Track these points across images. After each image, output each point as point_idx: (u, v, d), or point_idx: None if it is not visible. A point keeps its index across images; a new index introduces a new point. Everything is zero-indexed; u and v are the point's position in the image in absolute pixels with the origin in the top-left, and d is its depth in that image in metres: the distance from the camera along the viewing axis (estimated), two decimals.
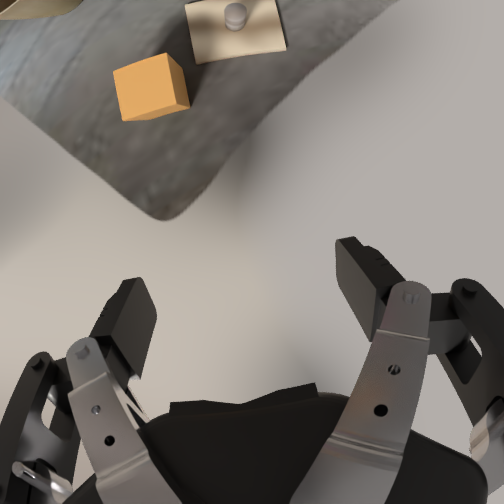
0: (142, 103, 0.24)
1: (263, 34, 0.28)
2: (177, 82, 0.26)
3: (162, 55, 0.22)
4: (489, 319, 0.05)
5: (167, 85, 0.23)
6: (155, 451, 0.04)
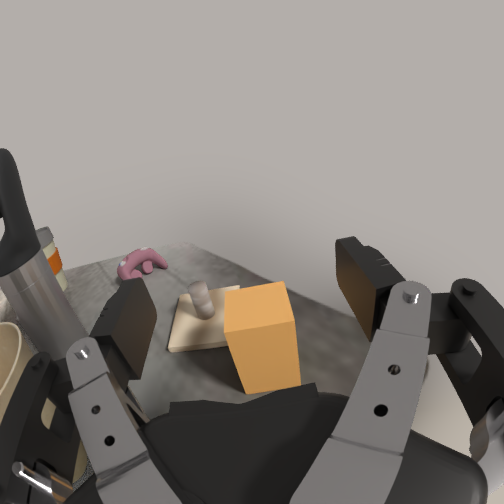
0: (277, 304, 0.25)
1: (222, 297, 0.42)
2: None
3: (226, 293, 0.28)
4: (489, 319, 0.05)
5: (261, 288, 0.28)
6: (155, 451, 0.04)
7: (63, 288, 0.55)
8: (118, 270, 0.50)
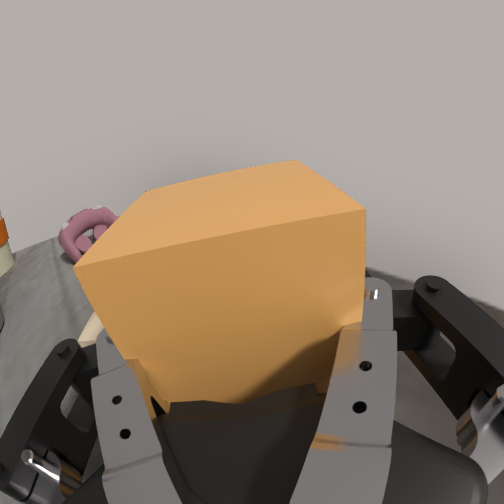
0: (283, 185, 0.07)
1: None
2: None
3: (147, 193, 0.10)
4: (459, 314, 0.05)
5: (237, 172, 0.10)
6: (170, 449, 0.04)
7: (7, 267, 0.37)
8: (59, 235, 0.32)
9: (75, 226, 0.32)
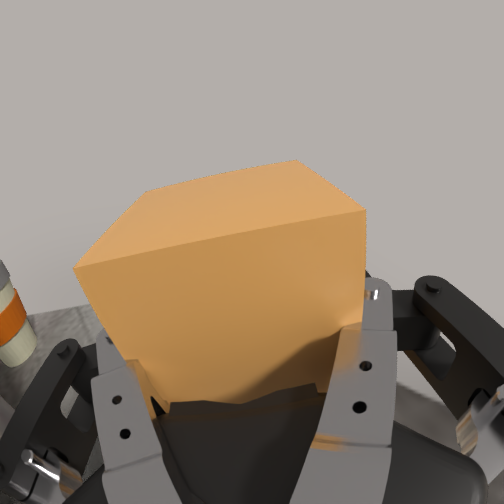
0: (283, 185, 0.07)
1: None
2: None
3: (147, 193, 0.10)
4: (459, 314, 0.05)
5: (237, 172, 0.10)
6: (170, 449, 0.04)
7: (30, 350, 0.32)
8: None
9: None
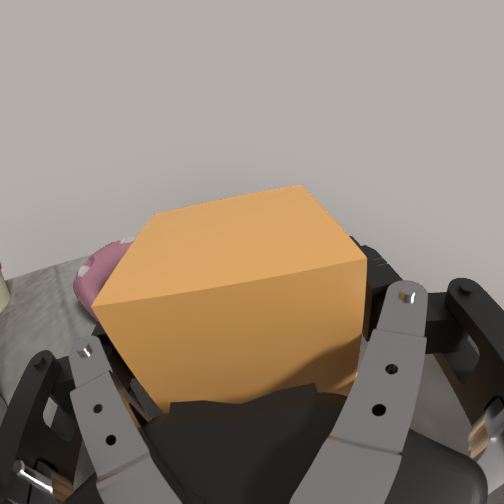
0: (289, 221, 0.08)
1: None
2: None
3: (155, 217, 0.10)
4: (486, 318, 0.05)
5: (243, 198, 0.10)
6: (156, 451, 0.04)
7: (1, 306, 0.28)
8: (74, 285, 0.22)
9: (99, 272, 0.23)
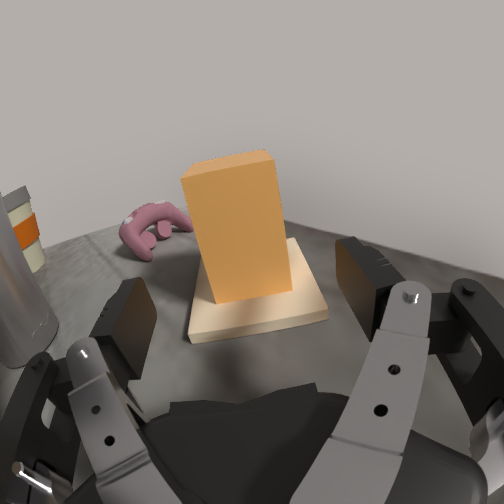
0: (253, 157, 0.19)
1: None
2: None
3: (195, 163, 0.22)
4: (489, 319, 0.05)
5: (236, 155, 0.22)
6: (155, 451, 0.04)
7: (39, 265, 0.40)
8: (121, 230, 0.33)
9: (141, 221, 0.34)
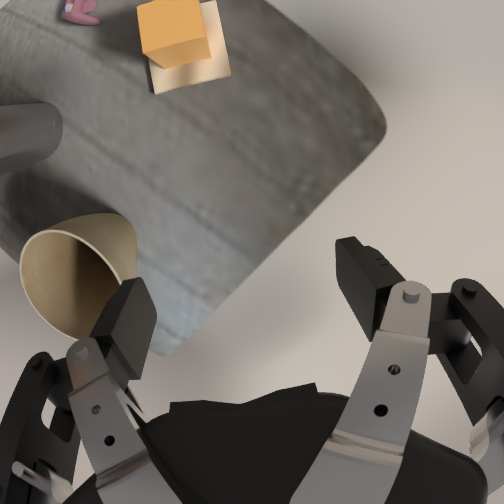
0: (188, 18, 0.18)
1: None
2: None
3: (139, 9, 0.17)
4: (489, 319, 0.05)
5: None
6: (155, 451, 0.04)
7: None
8: (65, 17, 0.19)
9: (80, 2, 0.19)
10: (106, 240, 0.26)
